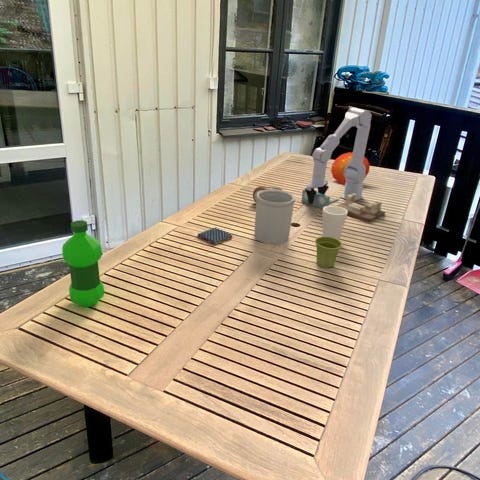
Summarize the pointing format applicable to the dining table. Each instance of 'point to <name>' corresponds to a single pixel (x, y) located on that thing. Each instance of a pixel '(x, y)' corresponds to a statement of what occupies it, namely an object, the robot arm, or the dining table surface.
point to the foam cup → (333, 221)
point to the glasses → (318, 199)
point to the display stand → (362, 209)
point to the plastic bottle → (83, 265)
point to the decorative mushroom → (340, 166)
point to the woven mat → (214, 236)
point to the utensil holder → (273, 216)
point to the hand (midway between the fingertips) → (315, 201)
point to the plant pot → (327, 251)
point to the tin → (261, 190)
